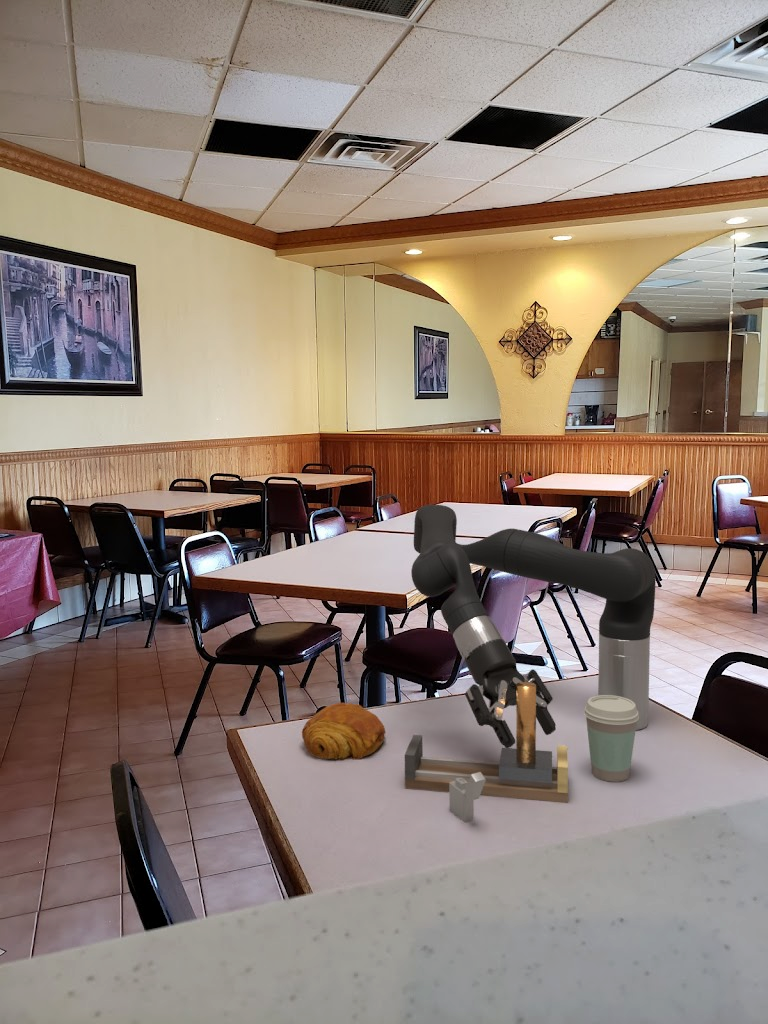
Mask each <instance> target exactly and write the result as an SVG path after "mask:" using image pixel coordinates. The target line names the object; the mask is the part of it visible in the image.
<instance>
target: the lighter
mask: <svg viewBox="0 0 768 1024" xmlns="http://www.w3.org/2000/svg"><path fill="white" fill-rule="evenodd" d="M485 781H486V779H485V778H484V776H483V775H482V773H481V772H478V773H474V774H472V775H471V776H470V779H469V782H467V781H465V780H464V779H463V778H456V779H455V781H452V782H450V783H449V792H448V793H449V794H448V795H449V811H450V812H451V813H452V814H453V815H455V816H456V818H458V819H459V820H461V821H462V822H463V823H467V822H470V821H473V820H475V817H474V816H475V815H474V813H475V812H474V811H475V810H474V807H475V805H474V804H475V802H474V801H475V800H478V799H480V797H481V795H480V794H481V791H482V789H483V786H484V783H485Z"/></svg>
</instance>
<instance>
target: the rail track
mask: <svg viewBox="0 0 768 1024" xmlns="http://www.w3.org/2000/svg"><path fill="white" fill-rule="evenodd" d="M423 746H424V745H423V735H422V734H413V735H412V736H411V740H410V742H409V743H408V747H407V749H406V750H405V754H404V788H405V789H410V790H421V791H431V792H440V793H441V792H443V793H444V792H445V793H449V783H450V782H452V781H455V779H456V778H463V779H464V780H465V781H467V782H469V779H470V776H471V775H472V774H474V773H478V772H481V773H482V775H483V776H484V778H485V779H486V781H485V783H484V786H483V789H482V791H481V794H480V796H487V797H498V798H512V799H524V800H533V801H547V802H557V803H567V804H568V801H569V800H568V797H569V796H568V795H569V794H568V793H569V789H568V788H569V786H568V785H569V783H568V782H569V763H568V746H567V745H559V744H557V747H556V766H552V783H542V782H529V781H517V780H505V779H499V762H498V761H497V762H495V761H483V760H470V759H469V760H467V759H458V758H456V759H455V758H445V757H433V756H423V755H424V754H423V753H424V752H423V750H424V749H423Z"/></svg>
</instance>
